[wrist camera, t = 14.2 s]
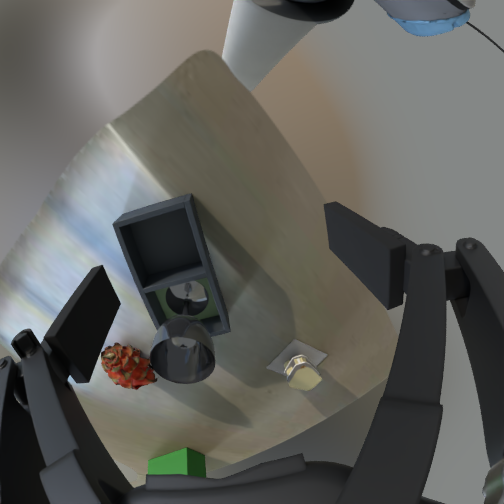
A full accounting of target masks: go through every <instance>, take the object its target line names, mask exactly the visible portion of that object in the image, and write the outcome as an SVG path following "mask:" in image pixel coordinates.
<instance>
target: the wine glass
mask: <svg viewBox="0 0 504 504" xmlns="http://www.w3.org/2000/svg"><path fill="white" fill-rule="evenodd" d="M166 302H167V305H168V306H169V308H170V309H171V310H172V311H173V312H175V313H176V314H178V315H175V316H172V317H170V318H168V319H167V320H166V321H164V322H163V323H162V325H161V326H160V328H159V329H158V331H157V333H156V335H155V337H154V340H153V343H152V346H151V352H150V363H151V365H152V367H153V369H154V370H155V371H156V372H157V373H158V374H159V375H160V376H161V377H163V378H165V379H167V380H169V381H172V382H175V383H181V384H190V383H196V382H199V381H202V380H204V379H205V378H207V377H208V376H209V375H210V374H211V373H212V372H213V370H214V368H215V351H214V344H213V341H212V338H211V335H210V333H209V331H208V329H207V327H206V326H205V325H204V323H203V322H202V321H200V320H199V319H197V318H195V317H193V316H195V315H198V314H200V313H201V312H202V311H204V310H205V308H206V307H207V305H208V302H209V295H208V292H207V290H206V288H205V287H204V286H203V285H202V284H201V283H199V282H197V281H191V282H187V283H183V284H179V285H175V286H171V287H168V289H167V291H166Z"/></svg>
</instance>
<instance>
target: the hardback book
mask: <svg viewBox="0 0 504 504" xmlns="http://www.w3.org/2000/svg"><path fill="white" fill-rule="evenodd" d="M148 474H185V475H191V476H198V477H205V478H206V467H205V455H203V454H200V453H198V452H196V451H194V450H191V449H189V448H187V447H186V448H183V449H181V450H178V451H175V452H172V453H169V454H167V455H164V456H161V457H157V458H154V459H151V460H149V461H148Z"/></svg>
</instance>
